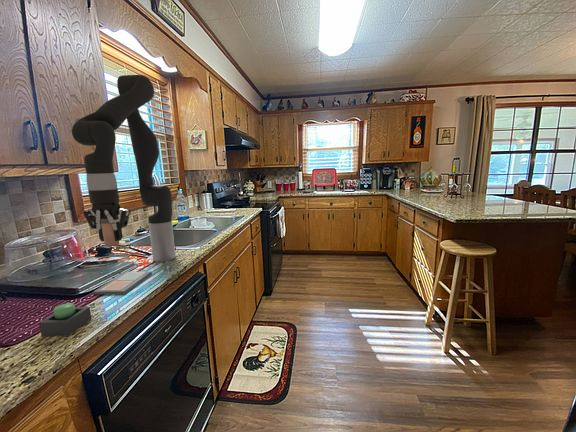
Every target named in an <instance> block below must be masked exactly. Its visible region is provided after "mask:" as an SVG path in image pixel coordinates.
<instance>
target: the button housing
mask: <svg viewBox="0 0 576 432" xmlns="http://www.w3.org/2000/svg"><path fill="white" fill-rule="evenodd" d="M75 310H76V312H75V313H74V314H73V315H71V316H69V317H66V318H62V319H55V317H54V313H52V314H51V315H49V316H47V317H45V318H43V319H42V320H41V321H39V322H38V325H39V326H38V327H39V331H40V334H41V335H40V336H43V337H45V336H47V337H49V336H51V337H53V336H54V337H55V336H56V337H57V336H58V337H59V336H61V337H62V336H63V337H65V336H71V335H72V334H74V333H75V332H76V331H77V330H79V329H80V328H81V327H83V326H84V325H86V324H87V323H88V322H90V321H91V320H92V313H91V307H90V306H75Z"/></svg>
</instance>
